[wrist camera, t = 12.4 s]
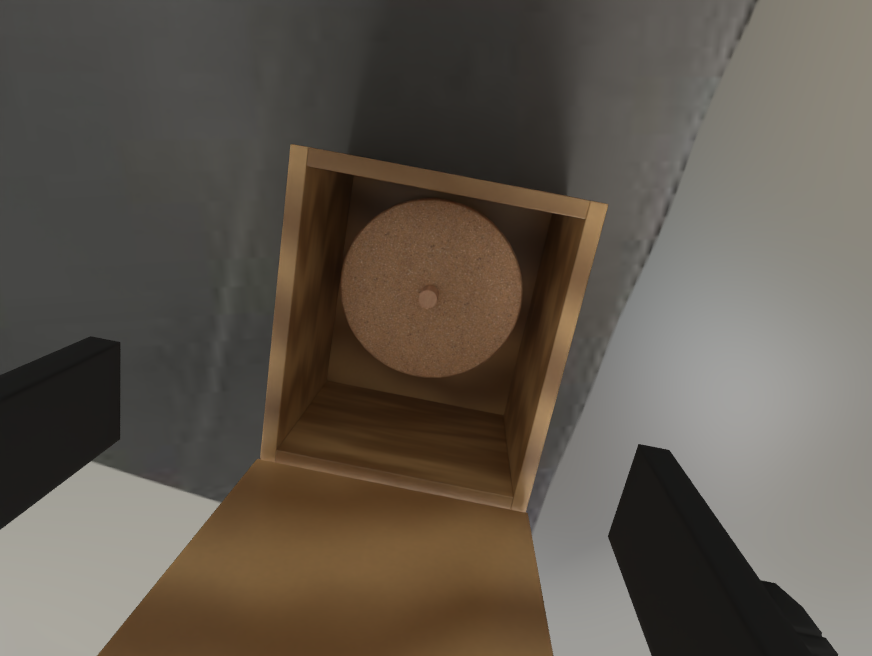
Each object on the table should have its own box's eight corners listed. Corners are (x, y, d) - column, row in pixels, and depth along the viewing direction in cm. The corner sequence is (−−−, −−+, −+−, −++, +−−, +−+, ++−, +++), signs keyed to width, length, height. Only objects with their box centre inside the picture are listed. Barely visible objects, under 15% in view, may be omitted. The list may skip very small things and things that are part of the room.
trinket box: (531, 214, 37) (550, 227, 28) (491, 356, 40) (496, 409, 31) (381, 177, 37) (351, 178, 28) (353, 321, 40) (317, 364, 31)
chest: (346, 154, 37) (290, 143, 26) (567, 195, 37) (608, 204, 26) (317, 384, 42) (259, 460, 31) (511, 422, 42) (525, 513, 31)
